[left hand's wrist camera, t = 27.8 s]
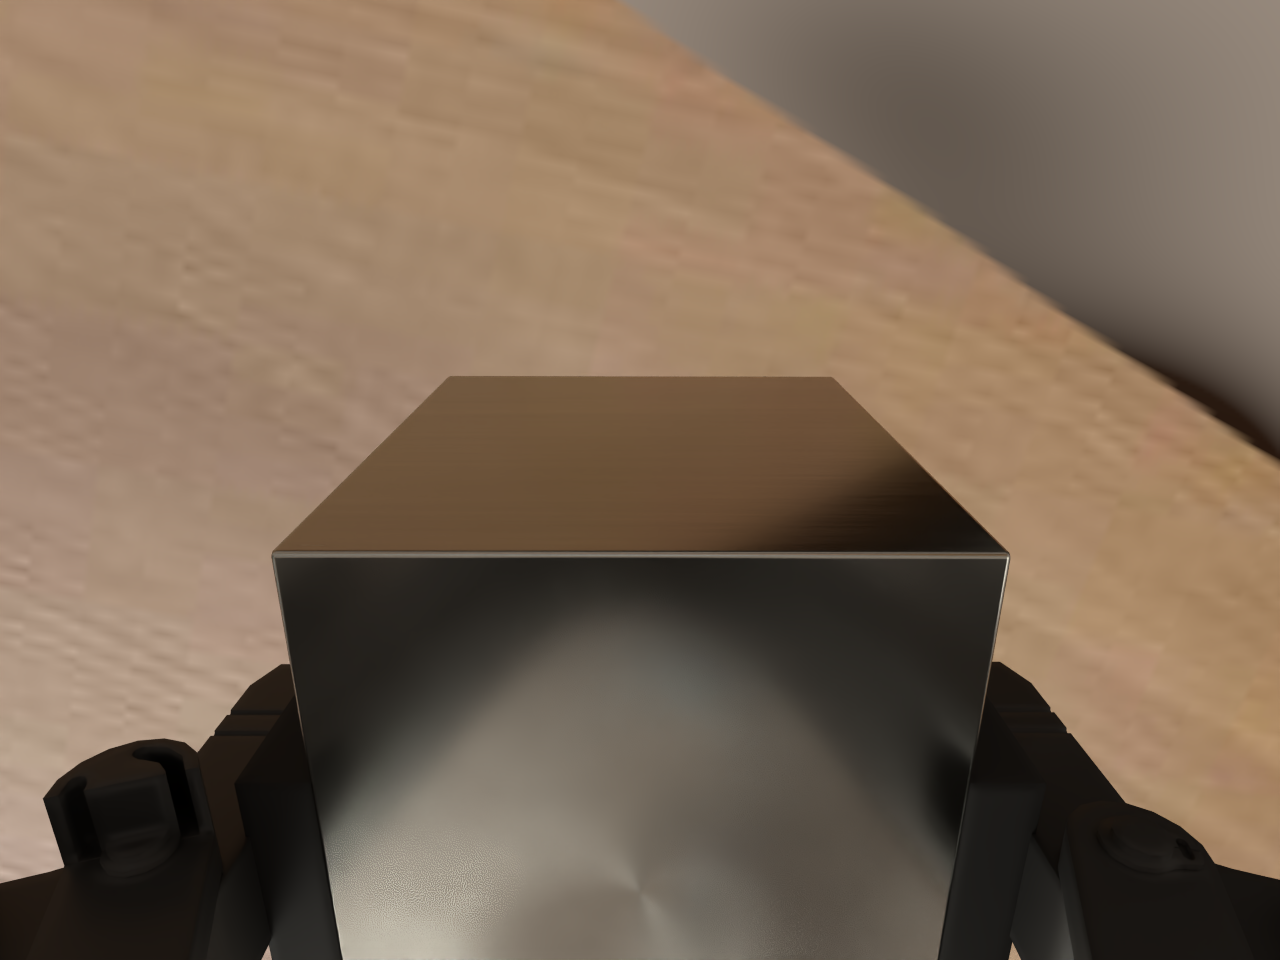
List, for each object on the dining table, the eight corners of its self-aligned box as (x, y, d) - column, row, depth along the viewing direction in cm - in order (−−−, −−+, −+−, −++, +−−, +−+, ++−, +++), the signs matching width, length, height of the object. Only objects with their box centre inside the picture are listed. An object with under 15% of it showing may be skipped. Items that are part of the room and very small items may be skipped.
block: (447, 375, 14) (268, 551, 7) (833, 376, 14) (1014, 554, 7) (479, 754, 16) (370, 1137, 10) (800, 754, 16) (909, 1138, 10)
